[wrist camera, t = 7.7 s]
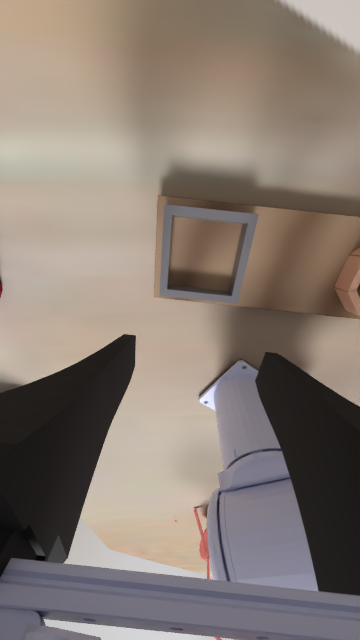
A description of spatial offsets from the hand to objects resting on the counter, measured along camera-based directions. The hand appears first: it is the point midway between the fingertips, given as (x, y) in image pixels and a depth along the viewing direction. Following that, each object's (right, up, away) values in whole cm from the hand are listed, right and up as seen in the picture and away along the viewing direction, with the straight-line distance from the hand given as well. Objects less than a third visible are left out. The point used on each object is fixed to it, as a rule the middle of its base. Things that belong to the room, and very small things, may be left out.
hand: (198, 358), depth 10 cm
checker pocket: (+1, +8, +5) cm, 9 cm away
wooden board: (+8, +7, +7) cm, 13 cm away
